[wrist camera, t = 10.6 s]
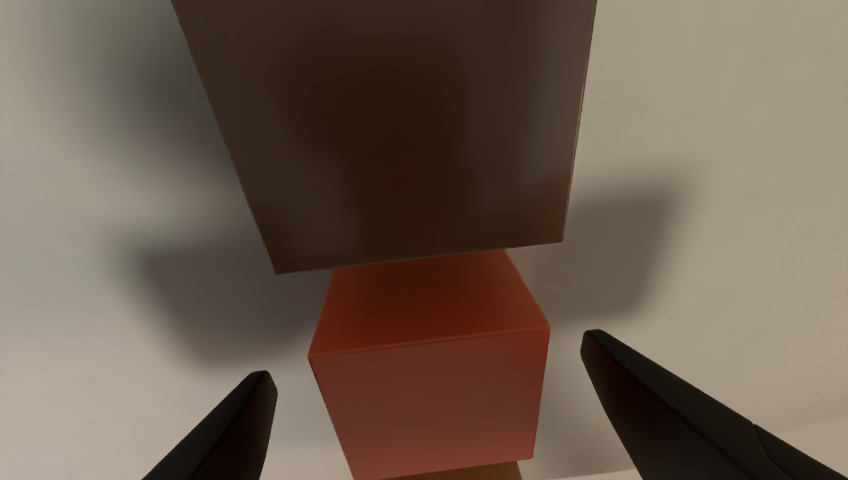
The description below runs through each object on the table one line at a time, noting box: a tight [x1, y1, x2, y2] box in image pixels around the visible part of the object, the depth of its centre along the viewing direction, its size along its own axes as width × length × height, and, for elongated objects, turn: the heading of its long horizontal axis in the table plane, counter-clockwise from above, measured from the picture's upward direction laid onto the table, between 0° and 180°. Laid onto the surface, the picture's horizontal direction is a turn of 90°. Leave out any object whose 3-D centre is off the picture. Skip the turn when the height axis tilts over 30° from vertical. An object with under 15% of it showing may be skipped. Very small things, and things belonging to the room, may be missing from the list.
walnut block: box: [171, 0, 597, 275], centre depth 6 cm, size 5×5×5 cm
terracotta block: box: [307, 249, 550, 480], centre depth 10 cm, size 5×5×5 cm
